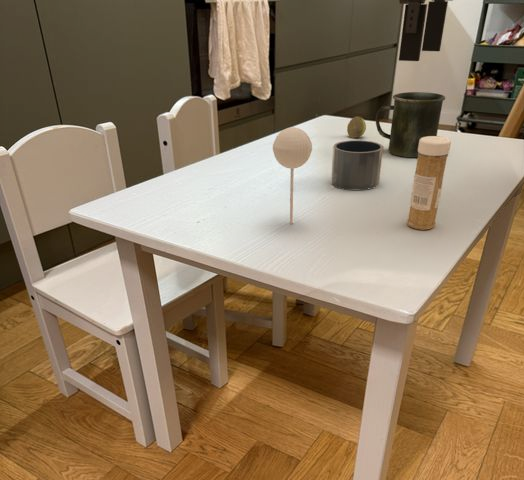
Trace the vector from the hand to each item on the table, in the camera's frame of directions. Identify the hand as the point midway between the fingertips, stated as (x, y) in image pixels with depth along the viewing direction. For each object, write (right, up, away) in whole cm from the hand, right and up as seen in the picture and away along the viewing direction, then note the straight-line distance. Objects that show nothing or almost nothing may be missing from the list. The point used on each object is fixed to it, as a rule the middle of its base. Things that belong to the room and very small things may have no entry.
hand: (420, 55), depth 75 cm
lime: (+1, +11, +56) cm, 57 cm away
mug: (+10, +2, +43) cm, 44 cm away
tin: (-5, -11, +25) cm, 28 cm away
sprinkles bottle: (+2, -24, +7) cm, 25 cm away
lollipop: (-19, -23, +9) cm, 31 cm away
